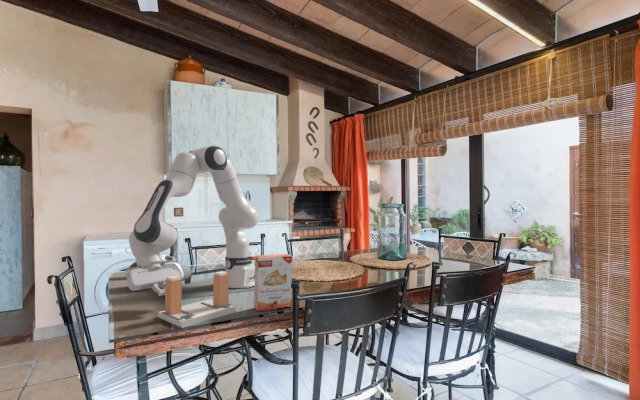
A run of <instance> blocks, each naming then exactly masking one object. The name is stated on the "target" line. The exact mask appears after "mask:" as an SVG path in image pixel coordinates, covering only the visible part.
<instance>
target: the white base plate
mask: <svg viewBox="0 0 640 400" xmlns="http://www.w3.org/2000/svg"><path fill="white" fill-rule="evenodd" d="M233 313H236V306H234V305H232V303H229V302H228V304H225V305H221V306H220V308H219V307H216V306H213V298H208V299H205V300H200V301H196V302H191V303H188V304H185V305H181V313H178V314H174V315H170V314H167V313H165V309H164V310H161V311H158V313H157V315H158V316H157V318H159V319H161V320H163V321H166V322H167V323H170V324H172V325H174V326H177V327H179V328H180V329H181V328H182V329H183V328H186V327H190V326H194V325H196V324H199V323H203V322H204V323H205V322H207V321H210V320H214V319H217V318H221V317H224V316H227V315H230V314H233Z"/></svg>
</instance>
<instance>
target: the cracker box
mask: <svg viewBox="0 0 640 400" xmlns="http://www.w3.org/2000/svg"><path fill="white" fill-rule="evenodd" d="M254 256H255V260H254V265H255V286H254V287H253V288H254V291H253V292H254V299H253V308H254V309H255V310H256V312H263V311H272V310H271V309H274V310H279V309H278V308H283V307H290V306H291V307H292V291H293V290H292V288H293V287H292V288H291V282H292V281H293V256H292V255H290V254H289V253H283V254H261V255H257V254H256V255H254ZM292 283H293V282H292ZM283 309H284V308H283Z"/></svg>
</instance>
